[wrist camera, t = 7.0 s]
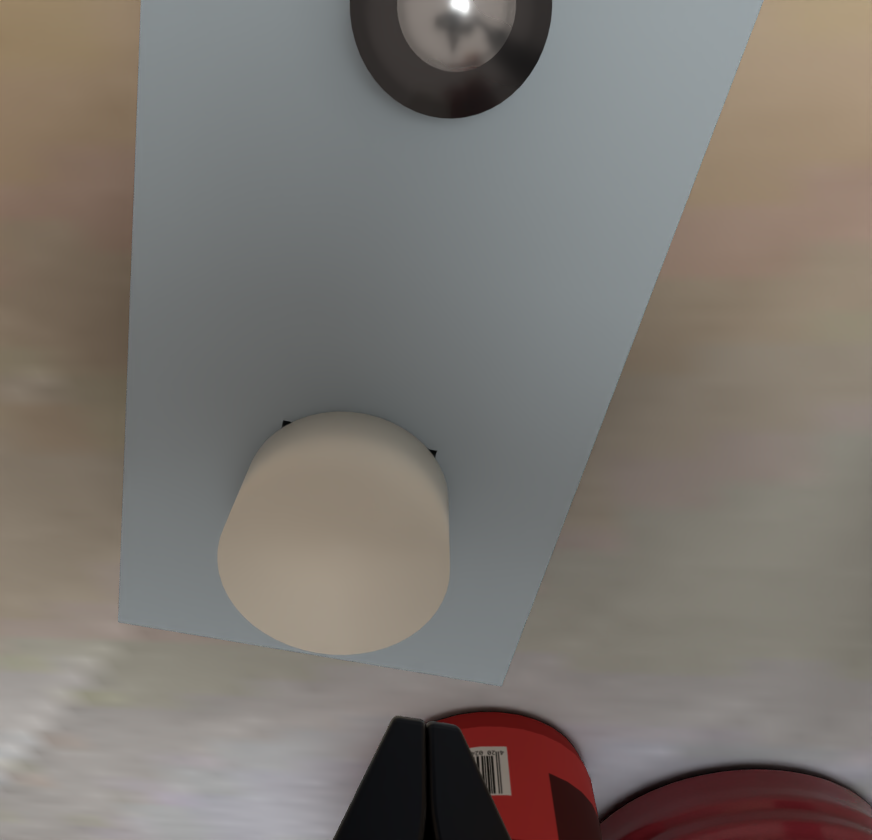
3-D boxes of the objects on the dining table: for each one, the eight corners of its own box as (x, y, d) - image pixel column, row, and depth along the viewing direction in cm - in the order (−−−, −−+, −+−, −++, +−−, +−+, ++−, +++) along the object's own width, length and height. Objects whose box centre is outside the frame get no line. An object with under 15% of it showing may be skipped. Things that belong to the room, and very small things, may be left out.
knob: (466, 379, 19) (475, 497, 14) (425, 526, 21) (422, 670, 16) (282, 341, 18) (228, 450, 14) (260, 494, 20) (208, 634, 16)
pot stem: (563, -70, 12) (650, -131, 7) (512, 126, 13) (554, 189, 8) (377, -122, 12) (333, -224, 7) (345, 84, 13) (289, 126, 8)
